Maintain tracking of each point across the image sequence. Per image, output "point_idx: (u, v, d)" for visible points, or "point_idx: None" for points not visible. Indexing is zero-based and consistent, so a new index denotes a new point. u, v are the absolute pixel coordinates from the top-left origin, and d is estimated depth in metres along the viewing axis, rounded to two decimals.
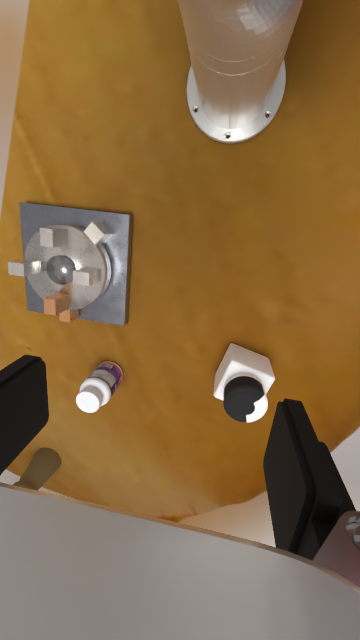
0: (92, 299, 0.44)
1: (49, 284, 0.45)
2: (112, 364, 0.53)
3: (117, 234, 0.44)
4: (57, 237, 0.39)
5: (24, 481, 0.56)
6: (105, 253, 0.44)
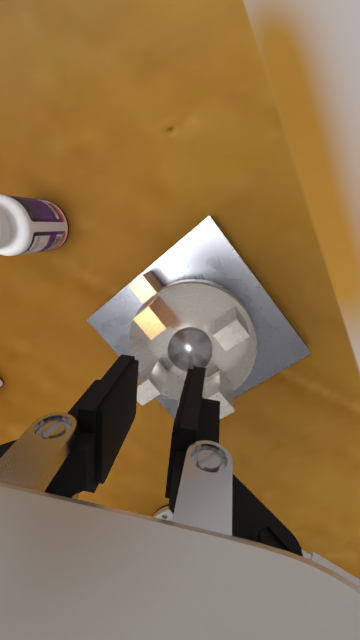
0: (131, 342, 0.30)
1: (192, 312, 0.27)
2: (53, 248, 0.32)
3: (177, 404, 0.35)
4: None
5: None
6: None
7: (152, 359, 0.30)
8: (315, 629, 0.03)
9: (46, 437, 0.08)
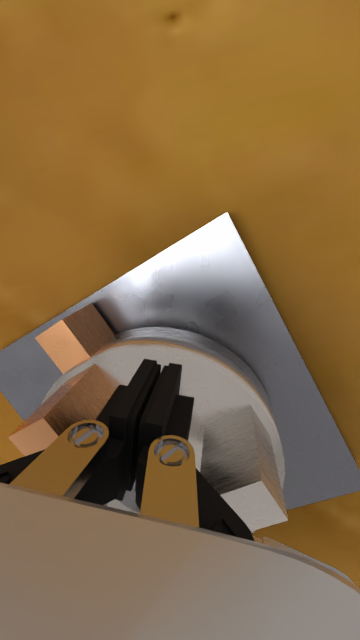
0: None
1: None
2: None
3: None
4: None
5: None
6: None
7: None
8: (315, 629, 0.03)
9: (78, 445, 0.07)
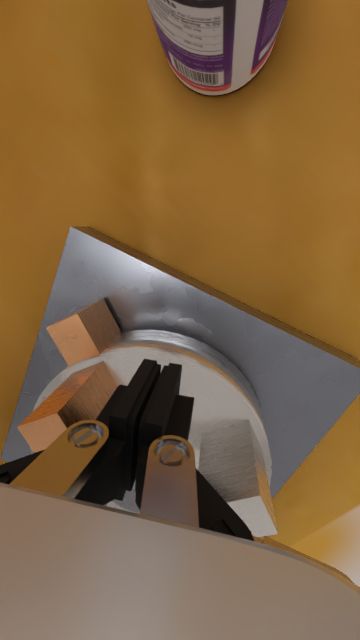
0: None
1: None
2: (177, 72, 0.13)
3: None
4: None
5: None
6: None
7: None
8: (315, 629, 0.03)
9: (78, 445, 0.07)
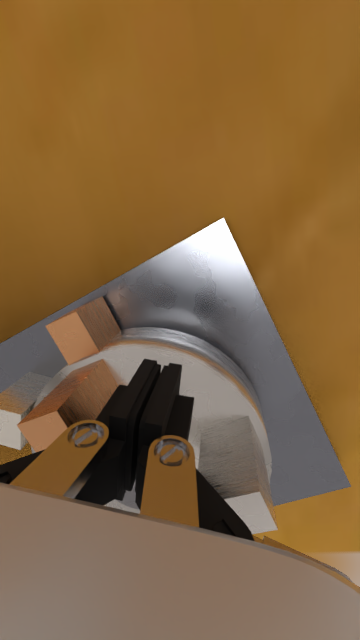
0: None
1: None
2: None
3: (23, 363, 0.18)
4: None
5: None
6: None
7: None
8: (315, 629, 0.03)
9: (78, 445, 0.07)
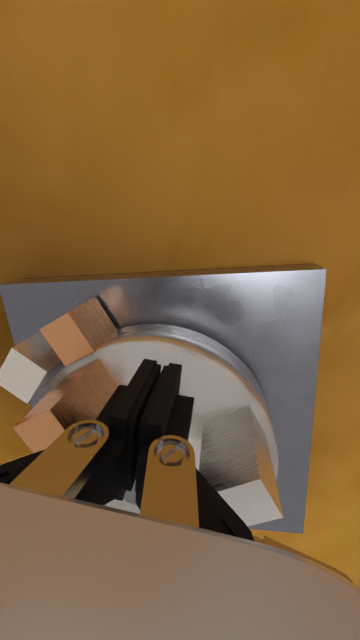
0: None
1: None
2: None
3: (52, 312, 0.17)
4: None
5: None
6: None
7: None
8: (315, 629, 0.03)
9: (78, 445, 0.07)
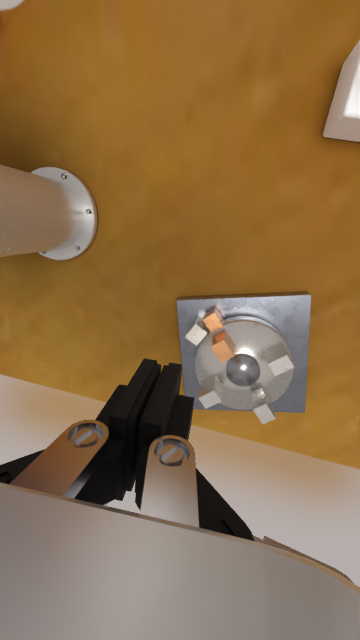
0: (196, 360, 0.39)
1: (248, 343, 0.37)
2: None
3: (198, 311, 0.40)
4: None
5: None
6: None
7: (211, 373, 0.39)
8: (315, 629, 0.03)
9: (78, 445, 0.07)
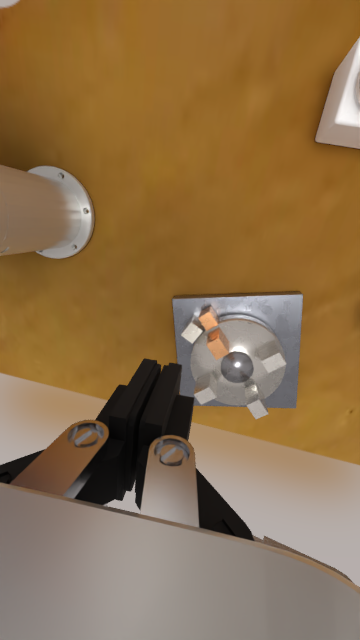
0: (192, 357, 0.40)
1: (242, 341, 0.38)
2: None
3: (193, 310, 0.41)
4: None
5: None
6: None
7: (206, 370, 0.40)
8: (315, 629, 0.03)
9: (78, 445, 0.07)
